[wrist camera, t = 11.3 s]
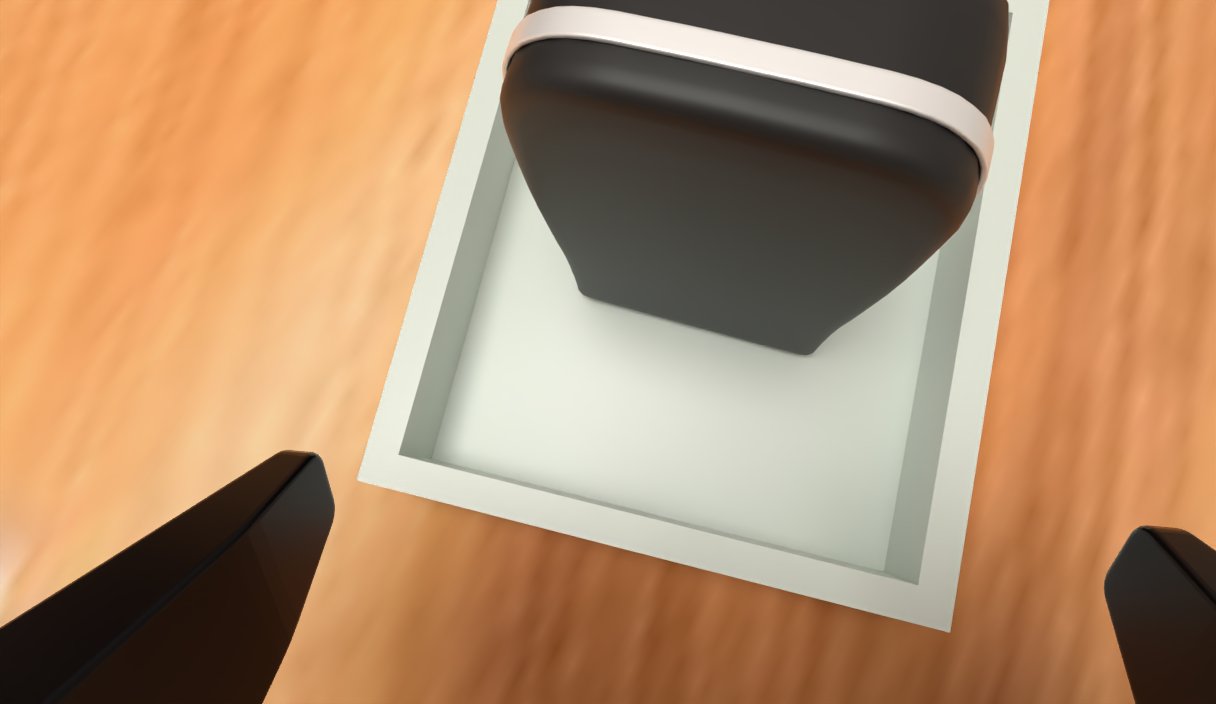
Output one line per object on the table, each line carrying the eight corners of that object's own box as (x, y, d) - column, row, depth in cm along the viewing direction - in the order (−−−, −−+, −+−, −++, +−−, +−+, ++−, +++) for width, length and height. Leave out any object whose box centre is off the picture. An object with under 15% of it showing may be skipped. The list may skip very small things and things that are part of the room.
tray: (897, 606, 19) (950, 633, 16) (407, 481, 20) (356, 480, 17) (988, 68, 21) (1051, -11, 18) (545, -7, 23) (525, -94, 20)
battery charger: (852, 231, 20) (1099, -102, 9) (819, 364, 19) (1038, 193, 8) (607, 170, 21) (542, -204, 9) (568, 296, 20) (450, 55, 9)
